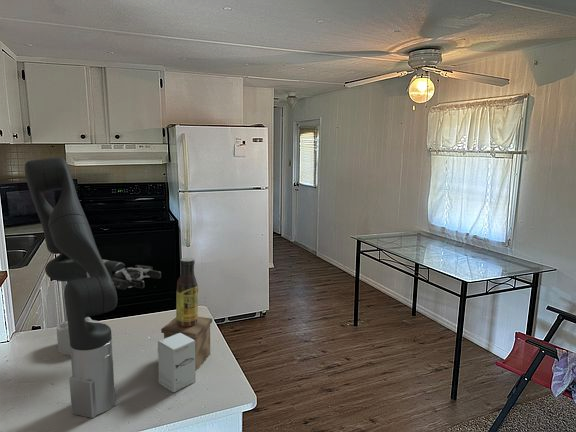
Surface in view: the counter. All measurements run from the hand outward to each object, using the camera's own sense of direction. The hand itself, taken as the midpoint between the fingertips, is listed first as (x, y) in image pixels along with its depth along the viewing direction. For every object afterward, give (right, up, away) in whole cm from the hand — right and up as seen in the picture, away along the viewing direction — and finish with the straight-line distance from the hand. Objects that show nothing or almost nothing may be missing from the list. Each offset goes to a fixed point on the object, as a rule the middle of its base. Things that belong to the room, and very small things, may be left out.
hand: (152, 279), depth 123 cm
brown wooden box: (+10, -25, +2) cm, 27 cm away
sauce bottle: (+11, -13, 0) cm, 17 cm away
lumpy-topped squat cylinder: (-27, -23, +9) cm, 36 cm away
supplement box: (+10, -27, -10) cm, 31 cm away
